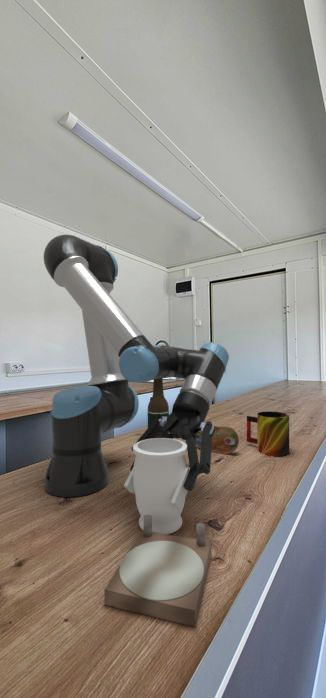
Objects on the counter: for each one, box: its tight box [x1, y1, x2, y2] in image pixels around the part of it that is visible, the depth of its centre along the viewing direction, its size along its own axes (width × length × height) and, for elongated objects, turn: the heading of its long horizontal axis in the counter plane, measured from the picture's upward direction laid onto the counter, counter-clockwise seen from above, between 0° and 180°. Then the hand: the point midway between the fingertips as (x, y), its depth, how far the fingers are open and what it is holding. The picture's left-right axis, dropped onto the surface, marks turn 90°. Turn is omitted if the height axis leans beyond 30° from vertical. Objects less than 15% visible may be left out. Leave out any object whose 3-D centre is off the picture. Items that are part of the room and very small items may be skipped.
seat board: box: [103, 515, 212, 628], centre depth 47 cm, size 12×14×5 cm
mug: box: [246, 410, 290, 458], centre depth 103 cm, size 10×14×12 cm
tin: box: [195, 424, 240, 455], centre depth 103 cm, size 15×3×8 cm, turn 56°
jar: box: [132, 438, 188, 535], centre depth 61 cm, size 11×10×15 cm
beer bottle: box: [147, 378, 170, 434], centre depth 114 cm, size 8×8×24 cm
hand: (150, 497), depth 58 cm, fingers closed on jar, 10 cm apart
